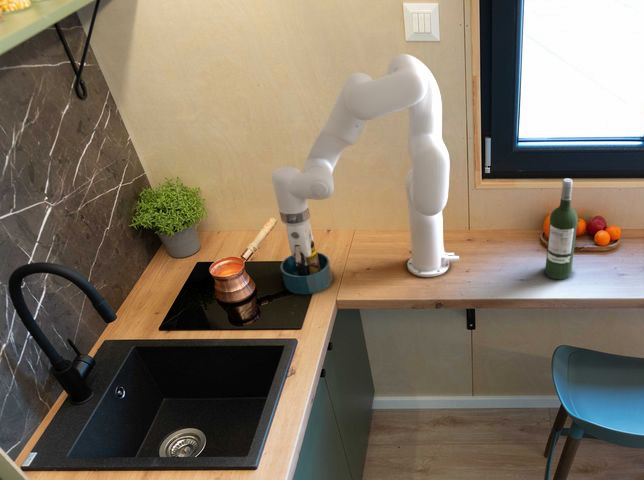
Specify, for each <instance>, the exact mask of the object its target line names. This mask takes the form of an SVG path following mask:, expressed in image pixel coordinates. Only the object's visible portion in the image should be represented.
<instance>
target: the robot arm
mask: <svg viewBox="0 0 644 480" xmlns="http://www.w3.org/2000/svg"><path fill="white" fill-rule="evenodd" d="M386 74H387V75H384V76H382V77H378V78H375V79H374V78H373V77H371V76H370V75H369V74H367V73H364V72H353V73H351V74H350V75H348V77H347V78H346V79H345V81H344V83H343V85H342V87H341V89H340V91H339V93H338V96H337V98H336V100H335V102H334V104H333V107H332V109H331V111H330V113H329V116H328V117H327V119H326V122H325V123H324V126H323V127H322V128H321V129H320V132H319V134H318V135H317V136H316V138H315V140H314V142H313V144H312V146H311V148H310V149H309V150H310V151H309V152H308V155H307V157H306V159H305V161H304V164H303V167H302V169H303V170H302V171H301V170H300V169H298V168H297V167H294V166H282V167H279V168H277V169H275V170H274V171H273V172H272V174H271V182H272V185H273V186H272V187H273V190H274V194H275V199H276V203H277V207H278V212H279V216H280V217H279V218H280V221H281V223H282V224H284V225H285V226H286V227H285V228H286V234H287V240H288V245H289V249H290V253H291V254H290V255H292V256H293V257H294V258H295V257H296V265H297V270H298V275H299V276H307V275H311V274H310V269H309V264H307V258H306V257H309V256H310V255H311V252H312V251H311V242H312V241H313V242H314V235H313V231H312V228H311V223H310V219H311V215H310V209H309V204H308V200H313V201H315V200H316V201H321V200H322V201H323V200H326V199H328V198H331V196H332V195H333V194H334V192H335V181H334V176H333V172H334V169H335V167H336V165H337V163H338V161H339V159H340V157H341V155H342V154H343V152H344V150H345V149H346V148H348V147H350V146H353V145H355V144H356V143H357V142H358V140H359V138H360V136H361V134H362V132H363V129H364V128H365V126H366V123H367V122H368V121H373V120H376V119H379V118H383V117H385V116H388V115H391V114H394V113H398V112H400V111H403V110H405V109H408V138H407V140H408V141H407V152H408V155H409V159H410V160H411V163H412V167H411V168H410V169H409V171H408V172H407V174H406V177H405V183H404V184H405V193H406V200H407V208H408V220H409V223H408V225H409V234H410V235H409V236H410V245H411V246H410V247H411V248H410V250H411V257H410V258H409V259H408V261H407V270H408V271H409V272H410V273H411V274H413V275H415V276H417V277H423V278H433V277H438V276H441V275H443V274H444V273H446V272H447V271H448V269H449V267H450V263H460V255H455V252H447V251H445V247H444V227H443V226H444V225H443V210H444V209H445V207H446V205H447V202H448V198H449V186H450V164H451V163H450V154H449V150H448V149H447V146H446V145H445V142H444V140H443V135H442V134H443V130H442V129H443V128H442V127H443V107H442V106H443V104H442V96H441V92H440V88H439V86H438V82H437V81H436V79H435V77H434V75H433V73H432V72H431V71H430V69H429V68H428V67H427V65H426V64H424V62H422V61H421V60H420V59H418V58H417V57H415V56H413V55H411V54H407V53H399V54H396V55H395V56H393V57H392V58H391V59H390V60H389V62H388V64H387V69H386ZM314 243H315V242H314ZM301 253H303V254H304V255H301ZM303 257H304V261H303V260H301V258H303Z"/></svg>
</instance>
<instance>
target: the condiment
mask: <svg viewBox="0 0 644 480" xmlns="http://www.w3.org/2000/svg"><path fill="white" fill-rule="evenodd" d="M311 251H312V252H311V255H310V256H309V257H306V258H307V264H309V269H310V274H311V275H312V274H315V273H317V272H320V271H321V269H320V264H319V259H318V253H317V252H318V250H317V248H316V246H315V242H313V241H312V242H311ZM301 255H304V254H303V253H301ZM301 260H303V261H304V257H303V258H301ZM295 276H299V275H298V274H297V275H295Z"/></svg>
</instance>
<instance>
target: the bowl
mask: <svg viewBox="0 0 644 480" xmlns="http://www.w3.org/2000/svg"><path fill="white" fill-rule="evenodd" d="M317 253H318V259H319V264H320V269H321V271H320V272H317V273H315V274H312V275H307V276H295V275H297V274H298V270H297V265H296V257H295V258H294V257H293V256H292V254H290V255H289V256H287V257H285V258H284V259H283V260H282V261H281V263H280V272H281V275H282V280H283V283H284V287H285V289H286V290H287V291H288V292H290V293H293V294H296V295H312V294H316V293H320V292H321V291H323V290H325V289H327V288H328V287H329V286H330V285H331V284H332V282H333V273H332V267H331V262H330V259H329V257H328V256H327V255H326V254H325V253H321V252H319V251H317Z"/></svg>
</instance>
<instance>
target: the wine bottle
mask: <svg viewBox="0 0 644 480" xmlns="http://www.w3.org/2000/svg"><path fill="white" fill-rule="evenodd" d="M573 183H574V182H573V179H572V178H567V177H566V178H564V179H563V180H562V184H561V185H562V188H561V193H560V201H559V202H560V203H559V206H557V207H556V208H555V209H553V211H552V212H551V213H550V216H549V224H548V236H547V246H546V247H547V248H546V259H545V268H544V269H545V274H546V276H548V278H551V279H554V280H565V279H568V278H569V277H570V276H571V275H572V269H573V263H574V262H573V261H574V253H575V246H576V245H575V244H576V236H577V227H578V221H579V220H578V219H579V218H578V217H579V216H578V214H577V212H576V211H575V210H574V209H573V207H572V206H571V205H572V191H573V190H572V189H573V185H574V184H573Z"/></svg>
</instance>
